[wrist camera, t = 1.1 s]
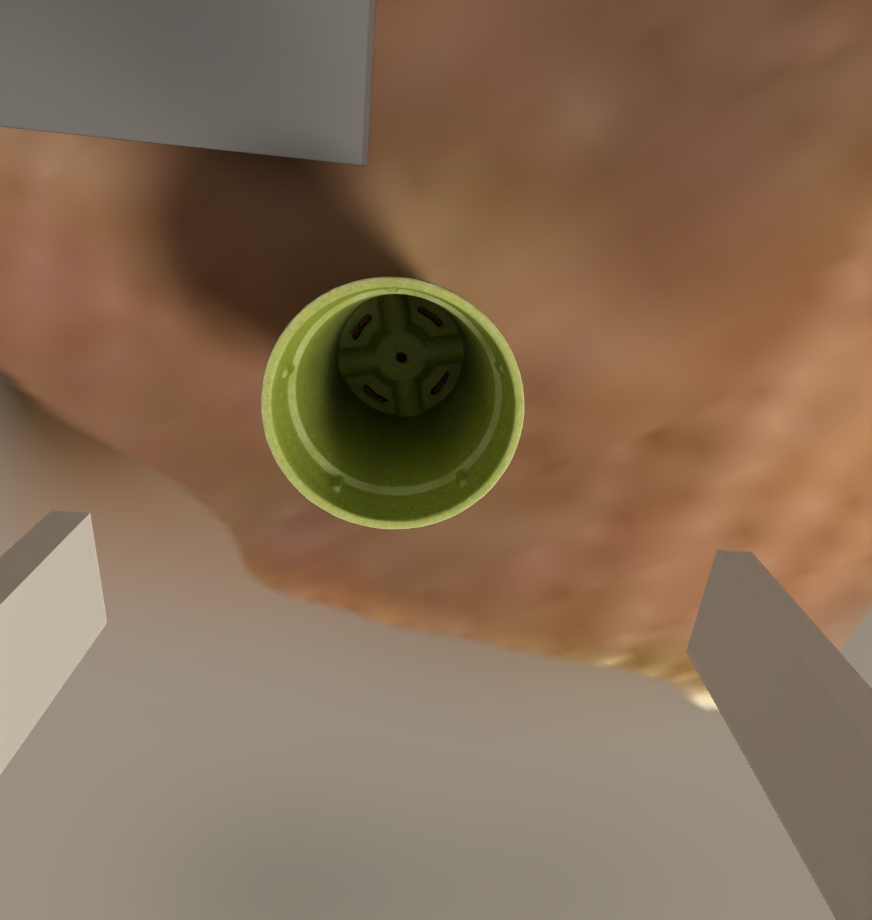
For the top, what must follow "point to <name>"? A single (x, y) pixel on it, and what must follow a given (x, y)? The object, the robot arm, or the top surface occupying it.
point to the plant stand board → (194, 73)
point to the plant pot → (392, 403)
